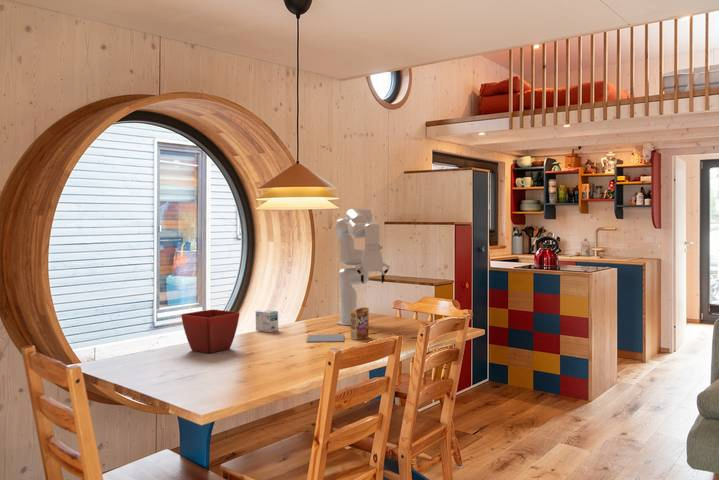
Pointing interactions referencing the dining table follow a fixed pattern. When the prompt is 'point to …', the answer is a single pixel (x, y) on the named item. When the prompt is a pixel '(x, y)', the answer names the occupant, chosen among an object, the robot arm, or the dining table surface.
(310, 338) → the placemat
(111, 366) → the dining table surface
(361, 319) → the candy box
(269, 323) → the light bulb box
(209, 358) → the dining table surface
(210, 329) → the plant pot
